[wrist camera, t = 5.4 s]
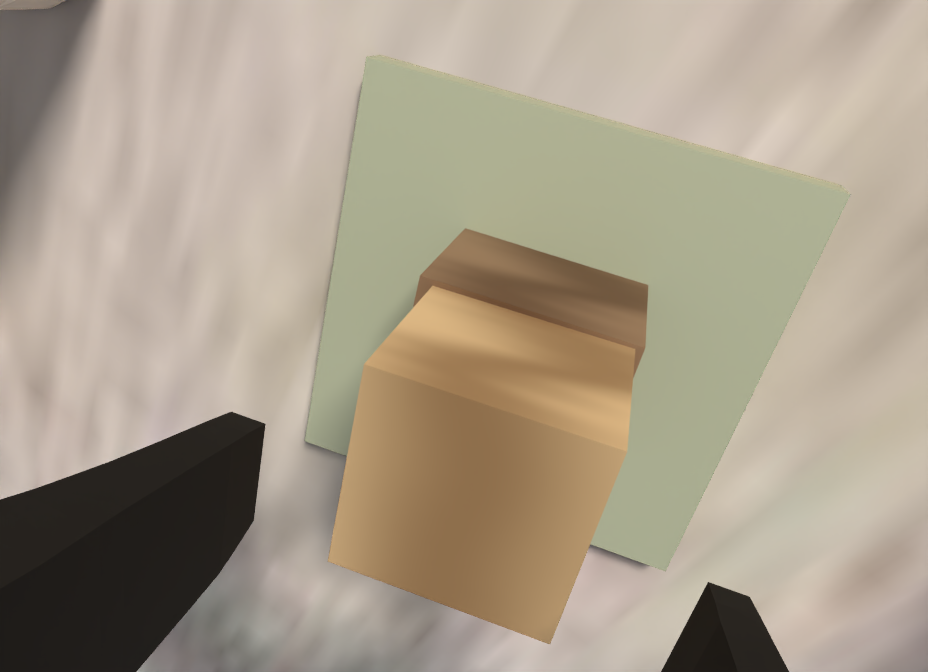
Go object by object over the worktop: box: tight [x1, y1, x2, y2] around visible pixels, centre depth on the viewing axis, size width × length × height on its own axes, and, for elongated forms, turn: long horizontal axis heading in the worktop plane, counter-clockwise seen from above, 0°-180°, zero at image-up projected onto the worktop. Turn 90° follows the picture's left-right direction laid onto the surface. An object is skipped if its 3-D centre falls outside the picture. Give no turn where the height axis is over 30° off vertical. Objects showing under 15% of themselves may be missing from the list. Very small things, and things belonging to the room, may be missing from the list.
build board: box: [305, 55, 851, 571], centre depth 20 cm, size 12×12×1 cm
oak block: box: [328, 286, 635, 644], centre depth 14 cm, size 4×4×4 cm
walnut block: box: [413, 228, 648, 378], centre depth 18 cm, size 5×5×4 cm
